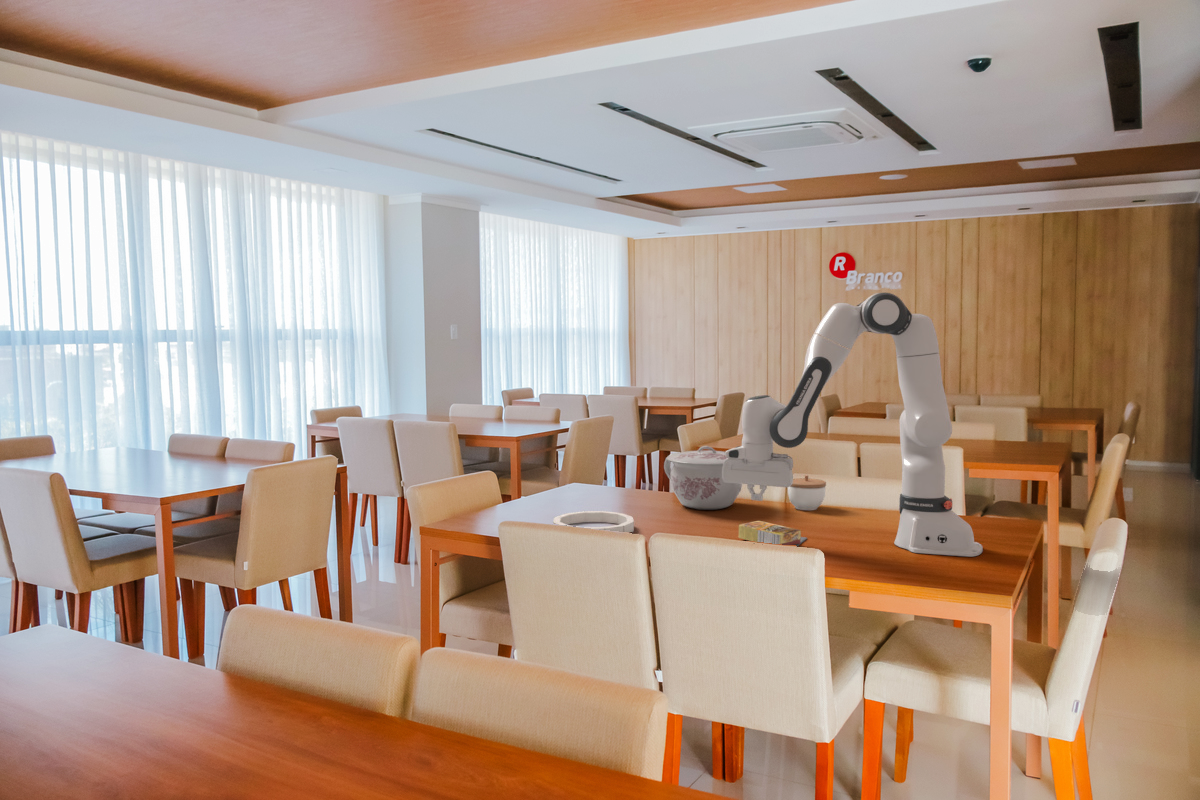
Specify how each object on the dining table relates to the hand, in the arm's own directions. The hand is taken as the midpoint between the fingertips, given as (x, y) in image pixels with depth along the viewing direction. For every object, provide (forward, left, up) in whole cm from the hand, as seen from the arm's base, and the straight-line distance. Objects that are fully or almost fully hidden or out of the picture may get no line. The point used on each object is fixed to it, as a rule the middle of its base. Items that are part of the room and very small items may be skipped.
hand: (756, 500), depth 247 cm
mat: (-6, 0, -11) cm, 13 cm away
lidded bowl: (-1, -48, -11) cm, 49 cm away
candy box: (+2, 0, -9) cm, 9 cm away
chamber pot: (+30, -36, -11) cm, 48 cm away
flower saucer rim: (+47, +12, -11) cm, 50 cm away
